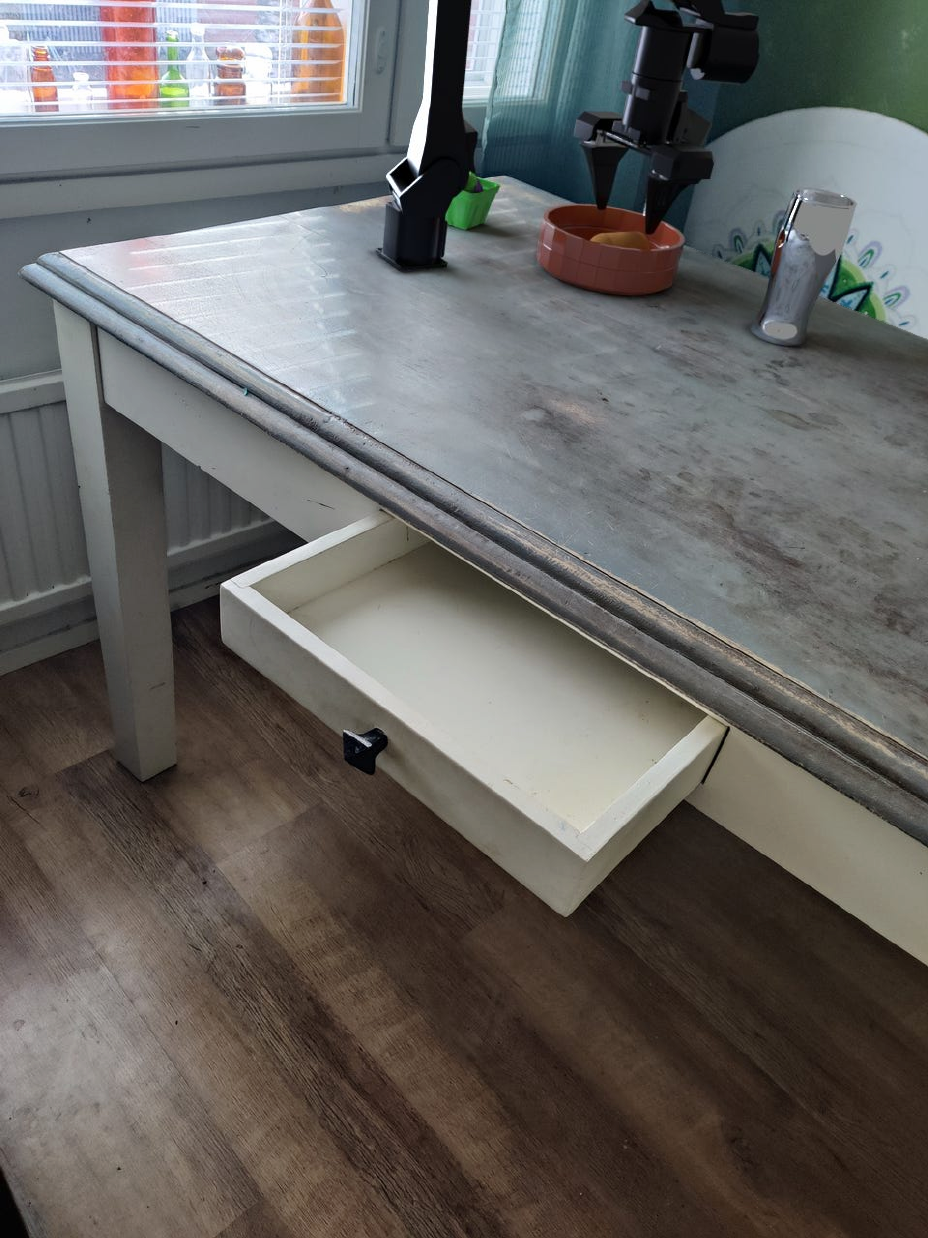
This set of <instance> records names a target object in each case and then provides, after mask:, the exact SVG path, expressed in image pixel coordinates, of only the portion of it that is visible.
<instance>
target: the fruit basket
mask: <svg viewBox="0 0 928 1238" xmlns="http://www.w3.org/2000/svg"><path fill="white" fill-rule="evenodd" d="M500 188H501V184H499V183H498V182H496V181H491V180H488V179H485V178H482V177H478V176H477V175H476V173H472V172H471V171H469V179H468V183H467V186H466V188H465V190H463V191H462V192H461V193H460V194H459V195H458V196H457V197H455V198H453V200H452V202H451V204H450V206H449V208H448V211H447V213H446V218H445V220H446V221H447V222H448V225H449V226H453V227H455V228H457V229H460V230H464V231H465V230H468V229H471V228H474V227H477V226H478V225H482V224H484V223H485V222H486V219H487V217H488V214H489V213H490V209H491V207H492V204H493V203H494V199H495V197H496V195H497V194H498V192H499V190H500Z"/></svg>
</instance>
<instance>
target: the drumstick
mask: <svg viewBox="0 0 928 1238" xmlns="http://www.w3.org/2000/svg"><path fill="white" fill-rule="evenodd" d="M590 241H593V242H597V243H601V244H605V245H611V246H617V247H623V248H633V249H650V243H649V240H648V239H647V237H646V236H645V235H644V234H642V233H640V232H635V231H633V232H618V233H602V234H598V235H596V236H594V237H593V238H592V239H591V240H590Z"/></svg>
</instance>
